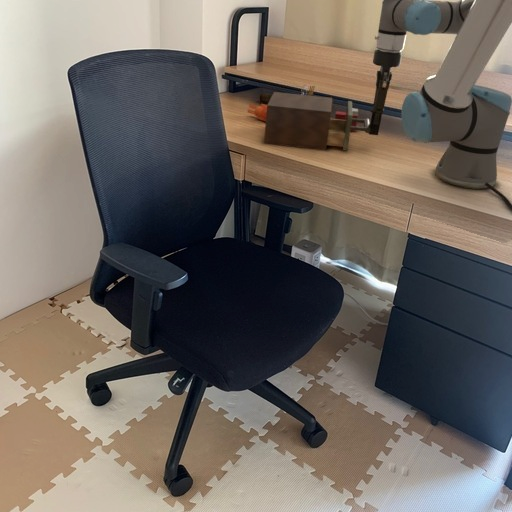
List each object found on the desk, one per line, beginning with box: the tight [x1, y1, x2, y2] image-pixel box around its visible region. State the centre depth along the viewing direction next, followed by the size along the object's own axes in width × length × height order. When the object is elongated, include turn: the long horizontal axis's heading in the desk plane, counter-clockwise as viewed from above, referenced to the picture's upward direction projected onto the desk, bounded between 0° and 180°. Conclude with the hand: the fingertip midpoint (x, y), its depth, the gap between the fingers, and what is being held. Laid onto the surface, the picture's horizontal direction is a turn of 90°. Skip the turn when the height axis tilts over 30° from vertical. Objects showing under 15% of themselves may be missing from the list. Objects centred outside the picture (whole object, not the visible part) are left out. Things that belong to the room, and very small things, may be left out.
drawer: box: [327, 100, 370, 151], centre depth 155 cm, size 24×17×10 cm
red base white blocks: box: [334, 107, 359, 133], centre depth 169 cm, size 7×3×6 cm, turn 82°
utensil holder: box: [300, 85, 315, 96], centre depth 174 cm, size 6×6×12 cm
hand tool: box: [259, 91, 273, 105], centre depth 186 cm, size 19×4×5 cm, turn 37°
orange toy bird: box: [247, 102, 268, 122], centre depth 173 cm, size 5×8×12 cm
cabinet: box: [263, 91, 333, 151], centre depth 156 cm, size 18×17×11 cm
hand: (373, 134), depth 155 cm, fingers closed
